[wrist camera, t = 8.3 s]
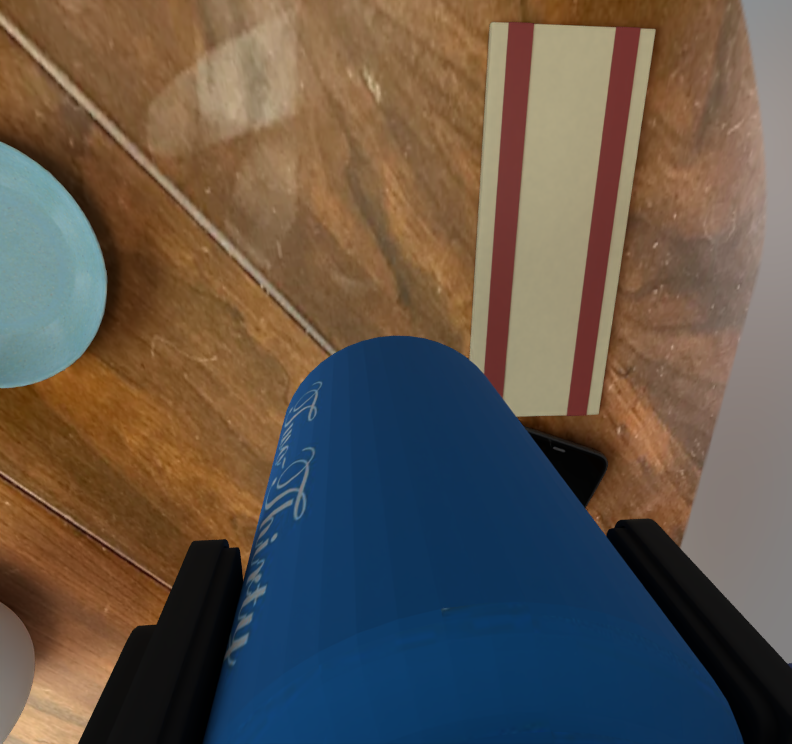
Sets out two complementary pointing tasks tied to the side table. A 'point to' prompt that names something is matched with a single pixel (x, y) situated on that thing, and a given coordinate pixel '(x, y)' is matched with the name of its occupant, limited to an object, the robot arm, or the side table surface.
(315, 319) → the side table surface
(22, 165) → the saucer
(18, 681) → the ornament
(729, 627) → the robot arm
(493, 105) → the tea towel
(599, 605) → the beverage can
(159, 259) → the side table surface
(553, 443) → the smartphone
